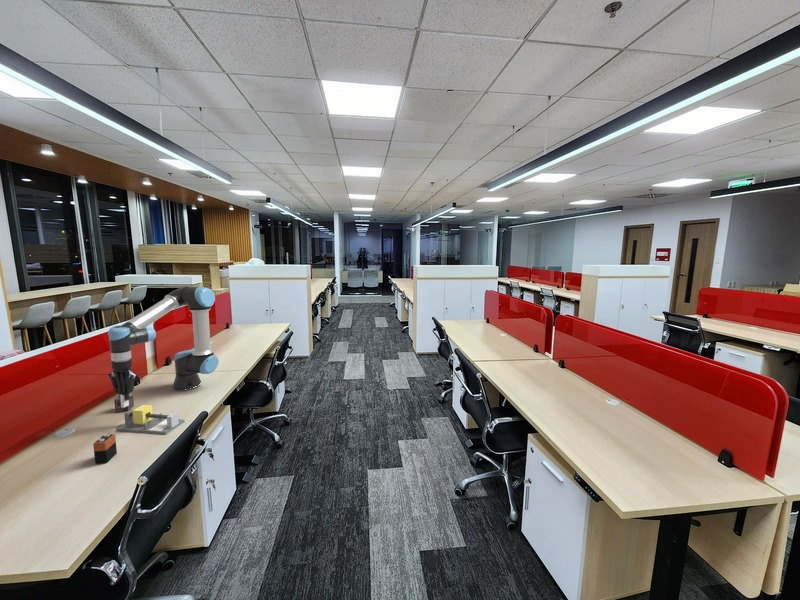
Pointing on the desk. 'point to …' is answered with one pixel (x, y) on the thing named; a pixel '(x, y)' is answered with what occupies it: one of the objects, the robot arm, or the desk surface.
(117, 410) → the box
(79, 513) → the desk surface
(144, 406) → the sleeve
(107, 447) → the battery
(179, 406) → the desk surface
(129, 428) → the gray rail plate
